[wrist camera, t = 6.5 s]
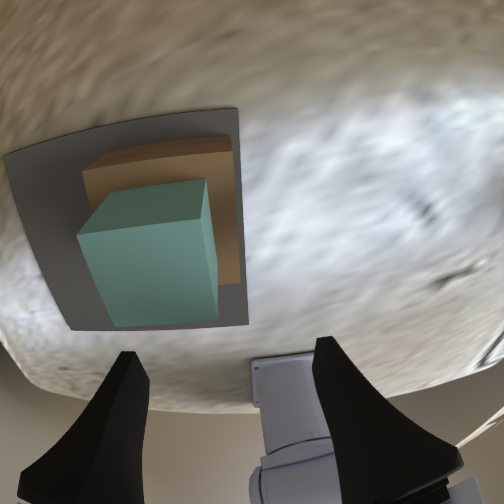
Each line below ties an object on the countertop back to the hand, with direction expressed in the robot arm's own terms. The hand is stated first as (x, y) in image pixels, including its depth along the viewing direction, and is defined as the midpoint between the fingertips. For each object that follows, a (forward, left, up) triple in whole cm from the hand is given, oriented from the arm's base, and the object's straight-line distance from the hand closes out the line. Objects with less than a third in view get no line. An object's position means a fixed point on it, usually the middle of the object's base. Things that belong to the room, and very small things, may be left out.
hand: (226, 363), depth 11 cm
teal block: (+3, +3, -5) cm, 7 cm away
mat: (0, +7, -10) cm, 12 cm away
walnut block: (+3, +3, -9) cm, 10 cm away
